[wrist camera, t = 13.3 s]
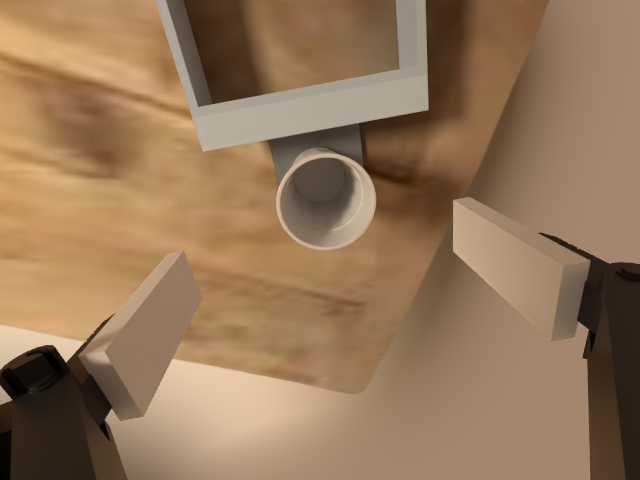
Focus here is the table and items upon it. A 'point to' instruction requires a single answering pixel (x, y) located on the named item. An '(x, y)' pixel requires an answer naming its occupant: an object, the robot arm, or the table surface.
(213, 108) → the rectangular frame
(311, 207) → the cup
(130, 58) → the table surface
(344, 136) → the pad
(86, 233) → the table surface
